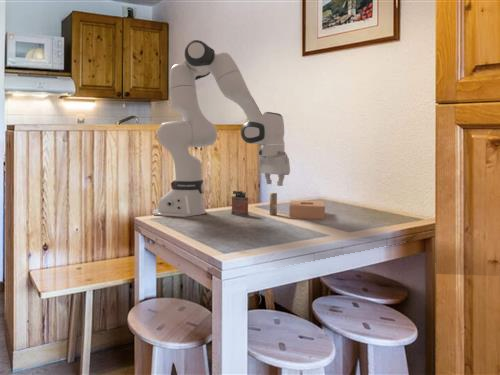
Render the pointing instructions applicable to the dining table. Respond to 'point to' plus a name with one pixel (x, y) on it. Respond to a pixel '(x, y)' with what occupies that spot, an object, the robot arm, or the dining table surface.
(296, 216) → the block
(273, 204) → the key peg
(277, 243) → the dining table surface
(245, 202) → the lighter
